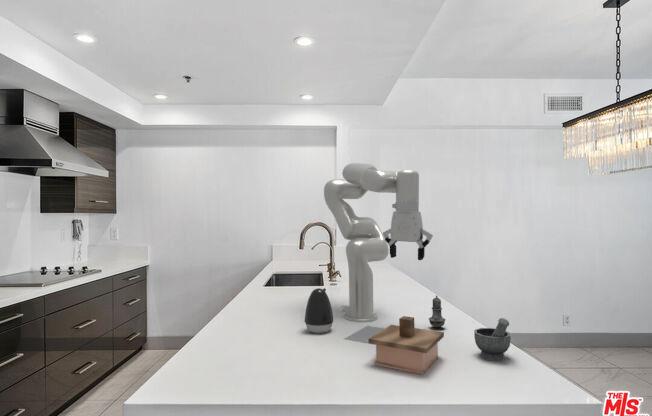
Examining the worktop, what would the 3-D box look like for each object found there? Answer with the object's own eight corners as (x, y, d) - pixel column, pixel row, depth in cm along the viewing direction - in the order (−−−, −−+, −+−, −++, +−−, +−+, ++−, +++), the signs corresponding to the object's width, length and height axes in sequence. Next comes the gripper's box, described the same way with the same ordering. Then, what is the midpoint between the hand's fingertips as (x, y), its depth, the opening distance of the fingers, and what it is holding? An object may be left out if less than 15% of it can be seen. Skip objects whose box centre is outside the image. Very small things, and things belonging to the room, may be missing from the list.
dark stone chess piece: (446, 332, 138) (446, 297, 138) (429, 331, 139) (428, 296, 139) (445, 327, 143) (444, 293, 144) (428, 326, 144) (427, 293, 145)
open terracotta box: (376, 364, 108) (376, 342, 108) (394, 350, 119) (394, 330, 119) (423, 374, 101) (422, 350, 101) (437, 358, 112) (437, 337, 112)
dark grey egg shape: (338, 329, 143) (337, 286, 143) (326, 337, 133) (325, 291, 133) (312, 326, 147) (312, 285, 147) (299, 334, 137) (298, 289, 138)
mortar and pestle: (467, 352, 117) (466, 311, 117) (494, 349, 119) (493, 309, 119) (493, 366, 106) (492, 321, 106) (522, 362, 108) (521, 318, 108)
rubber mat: (343, 339, 130) (343, 338, 130) (367, 326, 146) (367, 325, 146) (394, 349, 121) (394, 348, 121) (415, 333, 136) (414, 332, 136)
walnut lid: (368, 343, 108) (368, 321, 108) (391, 328, 121) (391, 308, 122) (426, 353, 99) (426, 329, 100) (443, 336, 113) (443, 315, 113)
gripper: (378, 207, 135) (378, 257, 135) (428, 207, 125) (427, 262, 125) (388, 207, 141) (387, 255, 141) (436, 207, 131) (435, 259, 132)
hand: (406, 258), depth 133 cm, fingers open, 9 cm apart
